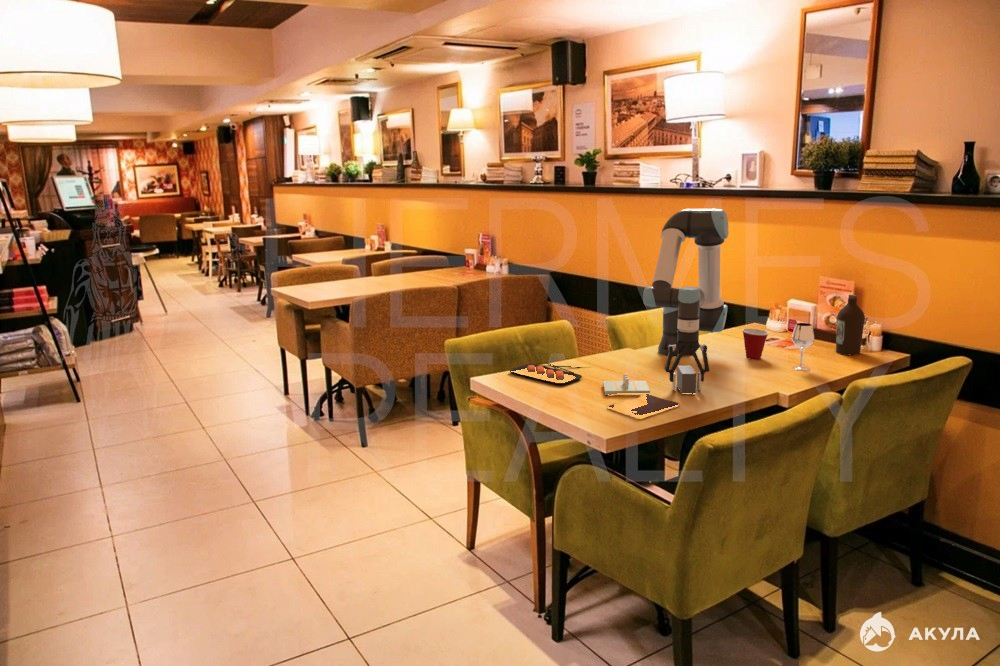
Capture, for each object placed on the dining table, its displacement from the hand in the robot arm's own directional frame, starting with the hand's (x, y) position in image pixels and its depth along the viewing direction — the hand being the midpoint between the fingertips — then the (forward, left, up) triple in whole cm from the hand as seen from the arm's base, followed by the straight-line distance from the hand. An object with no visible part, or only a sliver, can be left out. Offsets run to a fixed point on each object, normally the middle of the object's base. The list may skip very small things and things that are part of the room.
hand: (686, 389), depth 263 cm
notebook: (+18, -18, -1) cm, 26 cm away
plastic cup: (-43, +36, 0) cm, 56 cm away
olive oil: (-50, +77, 0) cm, 92 cm away
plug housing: (0, 0, 0) cm, 0 cm away
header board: (0, -22, 0) cm, 22 cm away
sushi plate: (-25, -47, -1) cm, 53 cm away
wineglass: (-27, +50, 0) cm, 57 cm away
